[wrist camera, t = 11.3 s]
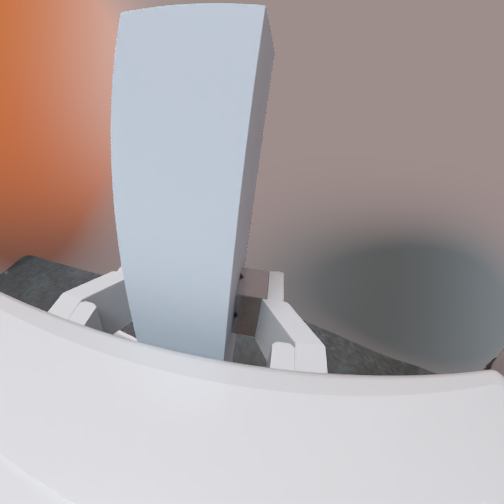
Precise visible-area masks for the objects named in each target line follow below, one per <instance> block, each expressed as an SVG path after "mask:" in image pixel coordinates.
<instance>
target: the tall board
mask: <svg viewBox="0 0 504 504" xmlns="http://www.w3.org/2000/svg"><path fill="white" fill-rule="evenodd" d="M273 59H274V48H273V42H272V36H271V31H270V25H269V20H268V15H267V10H266V6H265V5H253V4H232V3H203V4H202V3H201V4H181V5H169V6H161V7H152V8H145V9H138V10H132V11H127V12H122V13H121V15H120V21H119V27H118V34H117V41H116V50H115V59H114V70H113V82H112V100H111V164H112V184H113V197H114V209H115V219H116V227H117V236H118V243H119V251H120V257H121V264H122V270H123V276H124V282H125V287H126V292H127V297H128V302H129V307H130V312H131V316H132V321H133V325H134V329H135V334H136V338H137V342H141V343H145V344H149V345H153V346H157V347H161V348H165V349H169V350H174V351H178V352H183V353H187V354H192V355H197V356H202V357H207V358H212V359H217V360H223V361H228V362H232V360H233V352H234V344H235V337H236V334H235V333H231V331H232V322H233V316H234V305H235V296H236V291H237V286H238V282H239V280H240V273H241V268H242V267H245V261H246V253H247V245H248V238H249V231H250V224H251V216H252V209H253V202H254V194H255V186H256V179H257V172H258V165H259V158H260V151H261V143H262V135H263V129H264V122H265V114H266V108H267V100H268V94H269V87H270V80H271V72H272V66H273Z"/></svg>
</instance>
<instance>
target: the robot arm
mask: <svg viewBox="0 0 504 504" xmlns="http://www.w3.org/2000/svg"><path fill="white" fill-rule="evenodd" d="M130 322H132V316H131V312H130V307H129V302H128V297H127V292H126V287H125V282H124V276H123V270H122V266H121V267H120V268H119V270H118V271H117V272H115V271H112V272H110V273H108V274H105V275H103V276H101V277H98V278H96V279H94V280H92V281H89V282H87V283H85V284H82V285H80V286H78V287H76V288H73V289H71V290H69V291H67V292H65V293H63V294H62V295H61V296H60V297H59V299H58V300H57V301H56V302H55V304H54V305H53V306H52V307H51V309H50V310H49V311H48V312H46V311H43V310H41V309H38V308H36V307H33V306H31V305H29V304H26V303H24V302H22V301H19V300H17V299H15V298H13V297H10V296H8V295H6V294H4V293H2V292H0V504H504V349H503V351H502V352H501V353H500V354H499V356H498V357H497V358H494V359H493V360H492V361H491V362H490V363H489V364H487V365H486V367H485V368H484V369H483V370H481V371H473V372H464V373H451V374H435V375H408V376H373V375H345V374H328V373H327V362H326V351H325V346H324V345H323V343H322V342H321V341H320V340H319V339H318V338H317V336H316V335H315V334H314V333H313V332H312V331H311V329H310V328H309V327H308V326H307V325H306V324H305V322H304V321H303V320H302V319H301V318H300V317H299V315H298V314H297V313H296V312H295V311H294V310H293V309H292V307H291V306H290V305H289V304H288V303H287V302H284V274H283V272H276V271H266V270H258V269H251V268H245V267H242V268H241V273H240V280H239V282H238V286H237V291H236V296H235V305H234V316H233V322H232V331H231V333H235V334H240V335H246V336H251V337H255V340H256V342H257V344H258V346H259V347H260V349H261V351H262V353H263V355H264V357H265V359H266V360H267V364H266V367H260V366H253V365H247V364H240V363H234V362H228V361H223V360H217V359H212V358H207V357H202V356H197V355H192V354H187V353H183V352H178V351H174V350H169V349H165V348H161V347H157V346H153V345H149V344H145V343H141V342H137V341H134V340H130V339H127V338H123V337H120V336H116V335H113V334H115V333H116V332H117V331H119V330H120V329H122V328H123V327H124V326H126V325H127V324H129V323H130Z"/></svg>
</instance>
